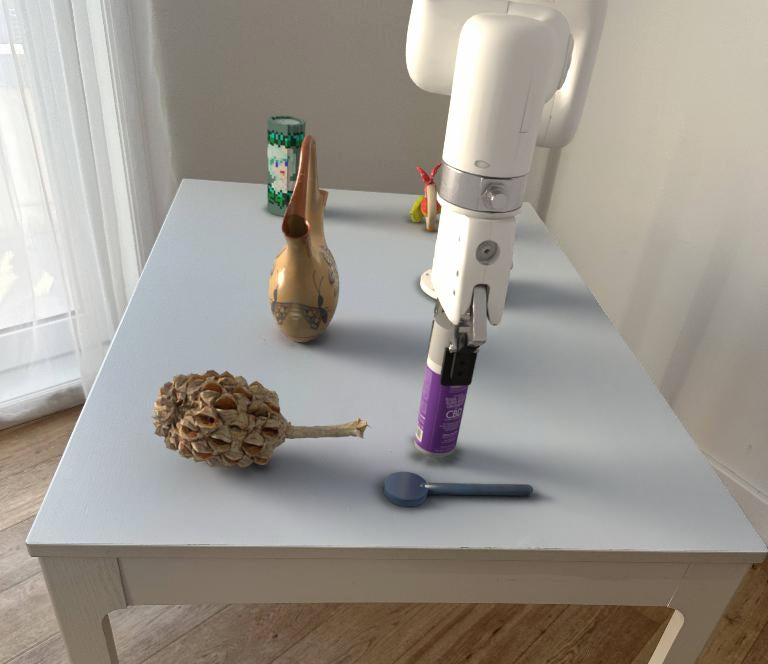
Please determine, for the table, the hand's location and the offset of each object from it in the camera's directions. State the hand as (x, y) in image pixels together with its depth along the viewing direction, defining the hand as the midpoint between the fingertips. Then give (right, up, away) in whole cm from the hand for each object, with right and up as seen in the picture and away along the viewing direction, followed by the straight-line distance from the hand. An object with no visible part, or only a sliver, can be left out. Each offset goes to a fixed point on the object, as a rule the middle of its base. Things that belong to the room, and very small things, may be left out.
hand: (448, 368), depth 75 cm
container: (-1, -7, +7) cm, 10 cm away
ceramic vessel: (-18, +9, +24) cm, 32 cm away
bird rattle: (+1, +38, +60) cm, 71 cm away
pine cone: (-19, -9, +3) cm, 22 cm away
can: (-25, +40, +59) cm, 75 cm away
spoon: (0, -13, +2) cm, 13 cm away
